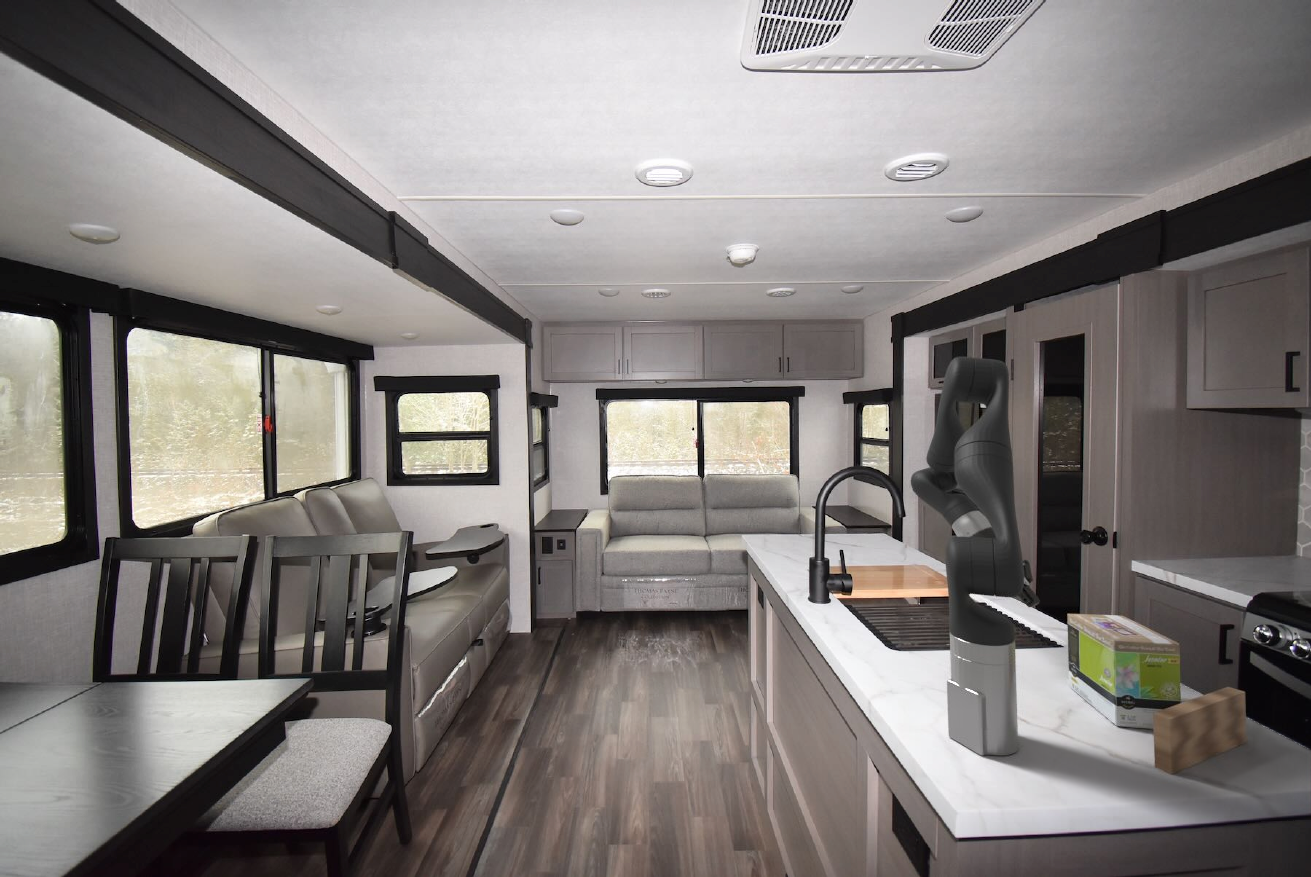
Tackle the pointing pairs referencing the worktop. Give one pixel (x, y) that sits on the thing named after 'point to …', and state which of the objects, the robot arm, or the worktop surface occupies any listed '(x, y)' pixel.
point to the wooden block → (1199, 729)
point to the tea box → (1122, 668)
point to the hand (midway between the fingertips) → (1035, 604)
